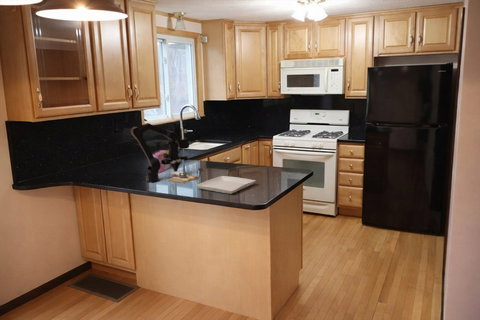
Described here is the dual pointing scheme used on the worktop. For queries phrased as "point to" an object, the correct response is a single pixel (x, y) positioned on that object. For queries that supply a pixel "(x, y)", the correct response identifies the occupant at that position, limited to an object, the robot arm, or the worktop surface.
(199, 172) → the worktop surface
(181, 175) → the wooden latch lever
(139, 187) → the worktop surface
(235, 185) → the square plate
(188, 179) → the board
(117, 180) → the worktop surface
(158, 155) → the gum box
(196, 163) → the worktop surface
